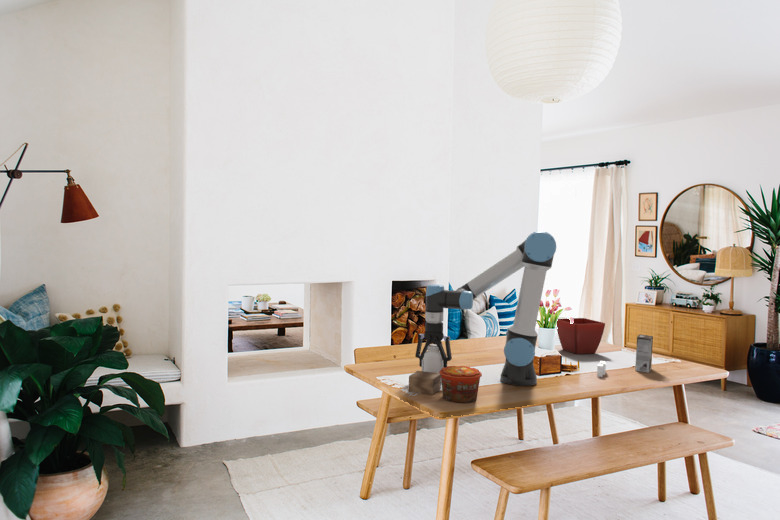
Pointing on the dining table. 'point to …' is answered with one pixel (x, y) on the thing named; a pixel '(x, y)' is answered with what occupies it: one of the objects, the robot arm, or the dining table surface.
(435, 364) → the pill bottle
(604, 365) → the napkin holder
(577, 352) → the plant pot
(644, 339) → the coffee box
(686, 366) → the dining table surface
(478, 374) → the food container
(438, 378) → the walnut block
